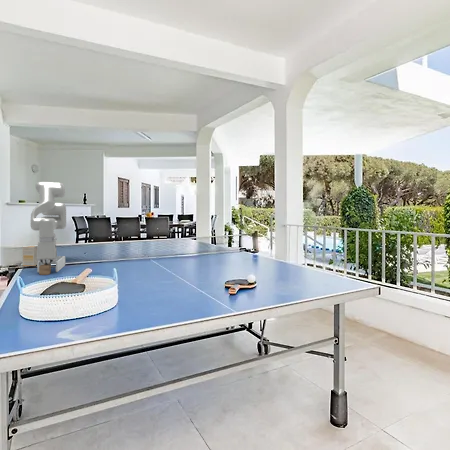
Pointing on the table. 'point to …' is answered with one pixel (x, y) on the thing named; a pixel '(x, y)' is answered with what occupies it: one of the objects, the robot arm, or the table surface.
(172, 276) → the table surface
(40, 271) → the walnut block
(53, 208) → the robot arm
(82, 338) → the table surface
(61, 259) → the frosted channel
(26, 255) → the supplement box
